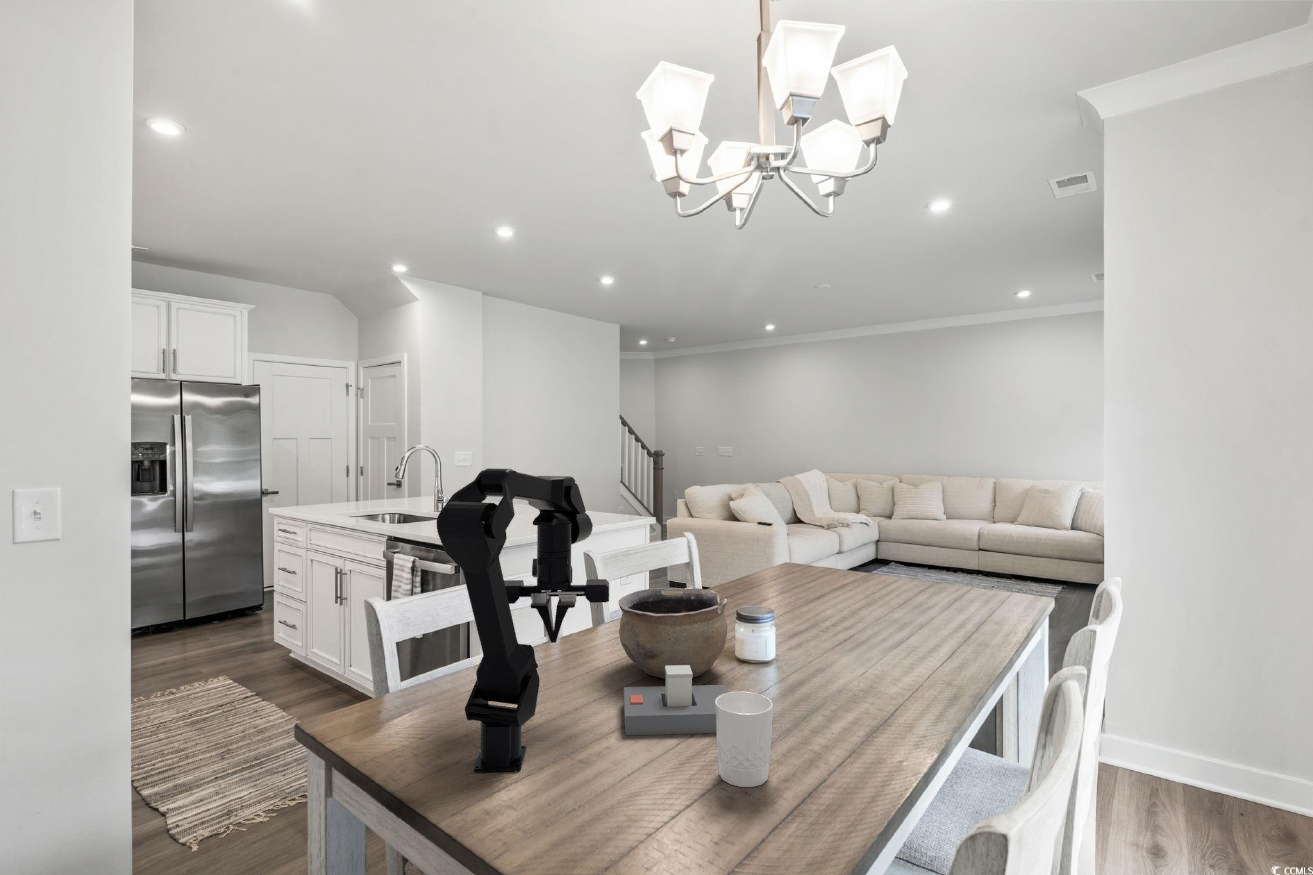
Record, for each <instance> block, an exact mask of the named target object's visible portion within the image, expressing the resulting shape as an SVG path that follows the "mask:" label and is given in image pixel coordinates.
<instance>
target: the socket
mask: <svg viewBox="0 0 1313 875" xmlns="http://www.w3.org/2000/svg"><path fill="white" fill-rule="evenodd" d="M729 692H730V691H729V689H728V688H727V685H726V684H711V685H708V684H707V685H706V684H705V685H702V684H701V685H700V684H699V685H692V706H671V707H665V695H666V685H664V686H663V685H662V686H661V685H660V686H627V687H626V686H624V687H623V711H624V712H623V716H624V718H623V719H624V733H625V734H624V735H625V736H652V735H683V734H684V735H686V734H687V735H689V734H716V710H715V700H716V698H717V697H718V696H720V695H722V694H725V693H729Z"/></svg>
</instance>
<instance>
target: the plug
mask: <svg viewBox="0 0 1313 875" xmlns="http://www.w3.org/2000/svg"><path fill="white" fill-rule="evenodd" d="M665 672H666V679H665V686H666V695H665V707H671V706H692V686H693V678H694V677H693V674H692V671H691V668H690V665H671V666H665Z"/></svg>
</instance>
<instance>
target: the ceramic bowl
mask: <svg viewBox="0 0 1313 875" xmlns="http://www.w3.org/2000/svg"><path fill="white" fill-rule="evenodd" d="M727 601H728V599H727V598H722V600H721V599H720V593H719V592H717V591H714V590H712V589H711V590H710V589H704V588H679V587H651V588H647V589H641V590H637V591H633V592H631V593H628V594H627V593H626V595H624V596H622V597H621V598H620V599H619V600H618V606H619V608H620V610H621V612H622V614H621V617H620V621H619V622H620V623H619V629H618V633H619V641H620V644H621V646H622V648H623V650H624V652H625V654H626V656H627V657H628V658H629V659H630V660H631V661H632V663H634V664H635V665H637V667H638V668H639V669H640V670H642V671H643V672H644V673H646V674H648V675H650V676H653V677H655V678H658V679H663V680H666V672H665V666H671V665H690V668H691V671H692V674H693V678H696V677H698V676H701V675H703V674H704V673H705V672H706V671H708V670H709V669H711V668H712V667H713V665H714V664H715V662H716V661H717V660H718V658H720V656H721V654H722V653H723V651H724V650H725V646H726V644H727V637H728V622H727V618H726V615H725V609H726V606H727V603H728V602H727Z"/></svg>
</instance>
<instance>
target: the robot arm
mask: <svg viewBox="0 0 1313 875" xmlns="http://www.w3.org/2000/svg"><path fill="white" fill-rule="evenodd" d="M488 497H495V498H498V497H499V498H501V497H502V498H501V499H500V501H499V503H498V504H497V503H496V502H484V501H485V500H486V499H487V498H488ZM514 499H515V500H521V501H522V500H523V501H528V502H527V504H528V505H529V506H531V507H533V508H535V509H537V510H538V511H539V513H538V515H537V516H536V517H535V518H534V519H533V521H532V525H533V526H536V527H537V529H536V530H537V532H536V539H537V540H536V544H537V545H536V546H537V549H536V558H532V564H531V565H532V566H531V576H532V578H536V585H525V584H524V580H523V579H521V580H520V579H514V580H513V579H511V580H510V579H509V580H508V579H507V580H506V579H504V575H503V571H502V567H501V565H502V564H501V562H500V555H501V553H502V550H503V548H504V546H505V543H506V542H507V538H508V537H507V529H508V527H509V526H510V524H511V522H512V521H513V519H514V518H515V515H516V514H515V509H514V503H513V502H514V501H513V500H514ZM593 527H594V526H593V521H592V520H591V517H590V515H588V513H586V506H585V504H584V501H583V497H582V494H581V490H580V487H579V485H578V484H577V482H576V480H575V478H574V477H573V476H568V475H567V476H565V475H562V476H561V475H560V476H559V475H532V474H527V473H523V472H519V471H516V470H513V469H511V468H489V467H488V468H486V469H484V470H483V469H482V470H480V472H479V473H478V474H477V476H476V477H475V479H473V481H471V482H470V483H468V484H467V485H465V486H464V487H461V488H460V489H458V490H457V491H455V492H454V493H453V494H452V495H451V496H450V498H449V499H448V501H447V502H446V504H445V505H444V506H443V508H442V509H441V510H440V511H439V513H438V514H437V518H436V529H437V530H436V532H437V535H438V537H439V540H440V542H441V545H442V548H443V550H444V552H445V554H446V555H447V556H448V557H449V558H450V559H451V560H452V561H453V562H454V563H455V564H456V565H457V566H459V568H460V569H461V571H462V573H463V578H464V581H465V584H466V585H465V586H466V591H467V593H468V598H469V602H470V607H471V609H472V615H473V617H474V623H475V626H476V630H477V635H478V638H479V642H480V648H481V651H482V658H481V660H480V662H479V664H478V666H477V669H476V671H475V674H476V681H475V683H474V686H473V688H472V690H471V693H470V694H469V697H468V700H467V702H466V704H465V707H464V712H465V716H466V720H467V721H475V722H476V721H477V722H480V752H479V755H478V757H477V758H476V762H475V763H474V766H473V772H475V773H483V772H484V773H487V772H490V773H491V772H514V771H515V772H517V771H520V770H521V769H522V768H523V767H522V766H523V763H524V759H525V757H526V753H527V746H526V745H522V727H523V725H525V724H526V723H527V722H528V721H530V719H532V718H533V717H534V716H535V715H536V708H537V702H538V695H539V690H540V675H539V673H538V670H537V669H538V668H539V665H538V663H537V661H536V656H535V655H536V654H535V649H534V647H533V646H532V645H531V644H523V643H519V642H518V641H519V640H518V639H517V634H516V629H515V623H514V620H513V616H512V611H511V606H510V604H512V605H513V604H514V605H515V604H516V602H517V601H518V600H519V599H520V598H530V600H531V603H530V609H536V611H537V613H538V615H539V616H540V618H541V620H542V622H543V625H544V627H545V630H546V632H547V635H548V638H549V641H550V643H551V644H555V643H557V640H558V637H559V633H560V630H561V627H562V624H563V622H564V618H566V615H567V613H568V611H569V609H573V608H575V607H576V602H577V597H585V599H586V600H587V601H588V602H589V603H590V604H591V603H608V602H610V582H609V580H607V579H606V578H603V579H602V578H600V579H599V578H597V579H594V578H593V579H592V578H590V579H587V578H586V580H585V581H586V582H585V584H572V583H573V566H572V546H573V545H574V544H577V543H579V542H583V541H585V540H586V539H588V538H589V537H590V536H591V534H592V532H593ZM552 597H558V601H557V604H556V609H555V619H554V620H553V617H554V616H553V610H552V608H553V607H552ZM489 702H494V703H501V704H509V705H510V704H511V705H516V707H515V706H514V707H513V706H507V705H506V706H505V705H500V704H499V705H498V704H492V703H491V704H489Z"/></svg>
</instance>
